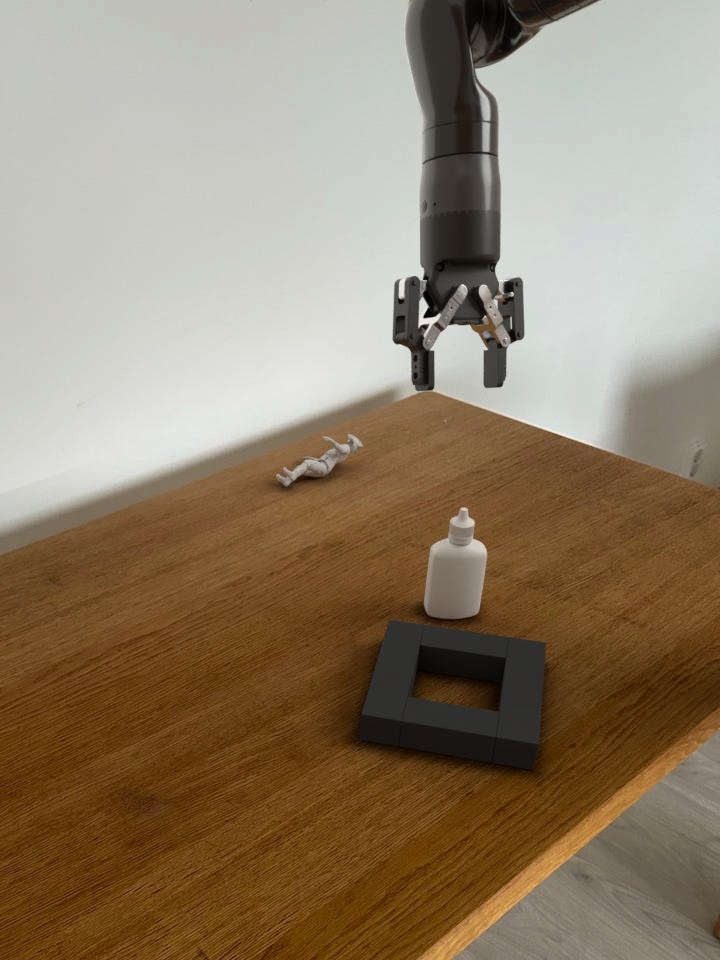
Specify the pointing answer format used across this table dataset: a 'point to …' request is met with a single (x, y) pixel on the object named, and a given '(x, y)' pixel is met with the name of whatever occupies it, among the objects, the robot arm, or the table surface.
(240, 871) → the table surface
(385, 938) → the table surface
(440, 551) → the eye dropper bottle
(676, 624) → the table surface
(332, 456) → the soldier figure
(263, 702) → the table surface
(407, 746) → the black rectangular frame
